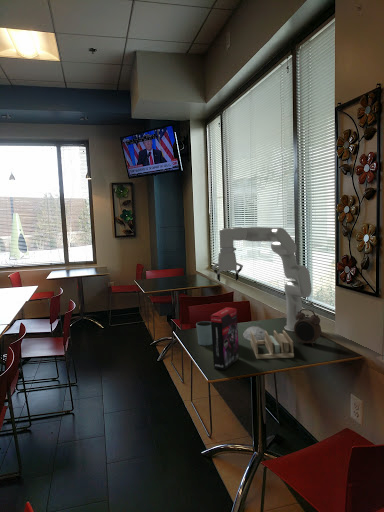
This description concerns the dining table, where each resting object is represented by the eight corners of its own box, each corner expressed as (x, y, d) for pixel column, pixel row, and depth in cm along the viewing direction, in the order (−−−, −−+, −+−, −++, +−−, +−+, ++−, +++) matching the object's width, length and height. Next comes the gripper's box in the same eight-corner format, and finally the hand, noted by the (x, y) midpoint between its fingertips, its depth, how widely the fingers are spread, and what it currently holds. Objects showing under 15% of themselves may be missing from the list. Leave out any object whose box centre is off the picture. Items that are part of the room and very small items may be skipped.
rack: (283, 342, 212) (283, 329, 211) (293, 357, 190) (293, 342, 189) (250, 344, 212) (250, 330, 211) (256, 358, 190) (256, 343, 190)
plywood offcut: (282, 345, 208) (282, 333, 208) (288, 355, 194) (288, 342, 193) (278, 345, 209) (277, 333, 208) (284, 355, 194) (283, 342, 193)
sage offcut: (272, 345, 209) (271, 335, 209) (279, 356, 193) (279, 345, 193) (268, 345, 209) (267, 335, 208) (275, 356, 193) (275, 345, 193)
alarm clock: (292, 343, 211) (292, 309, 209) (298, 339, 216) (298, 306, 214) (316, 348, 201) (316, 312, 199) (322, 344, 206) (322, 309, 204)
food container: (259, 329, 239) (258, 319, 238) (277, 343, 215) (276, 332, 214) (237, 334, 235) (236, 324, 234) (253, 349, 211) (252, 338, 210)
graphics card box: (224, 371, 177) (222, 316, 174) (212, 368, 180) (209, 314, 178) (239, 359, 191) (237, 308, 188) (227, 356, 195) (225, 306, 192)
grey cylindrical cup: (204, 347, 211) (204, 327, 209) (193, 343, 218) (192, 323, 217) (217, 342, 217) (216, 323, 216) (205, 339, 225) (204, 319, 224)
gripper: (241, 249, 207) (242, 279, 209) (211, 250, 208) (212, 280, 210) (243, 250, 200) (244, 281, 202) (211, 251, 200) (212, 282, 202)
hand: (227, 280), depth 206 cm, fingers open, 9 cm apart
